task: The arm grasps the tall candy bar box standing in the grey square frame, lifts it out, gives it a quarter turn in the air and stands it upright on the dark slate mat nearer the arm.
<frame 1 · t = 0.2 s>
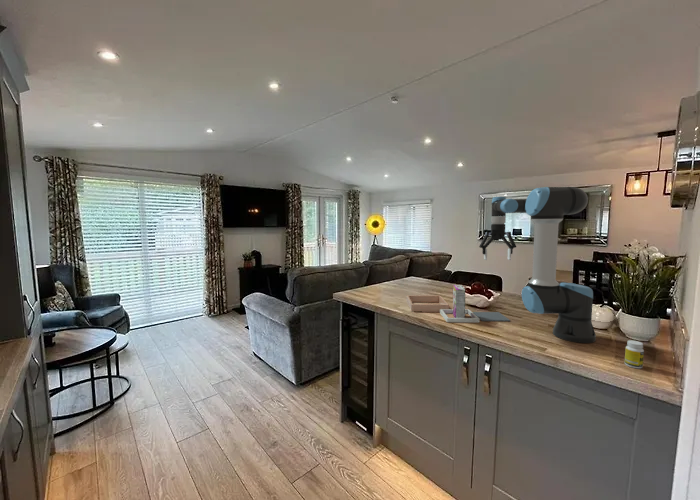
hand: (497, 259, 181), 28 cm above the counter, fingers open, 13 cm apart
supplement bottle: (633, 366, 107), on the counter
pinkish tan tray: (426, 306, 185), on the counter
mat: (490, 317, 163), on the counter
grey square frame: (458, 317, 163), on the counter
candy bar box: (458, 317, 163), resting in grey square frame
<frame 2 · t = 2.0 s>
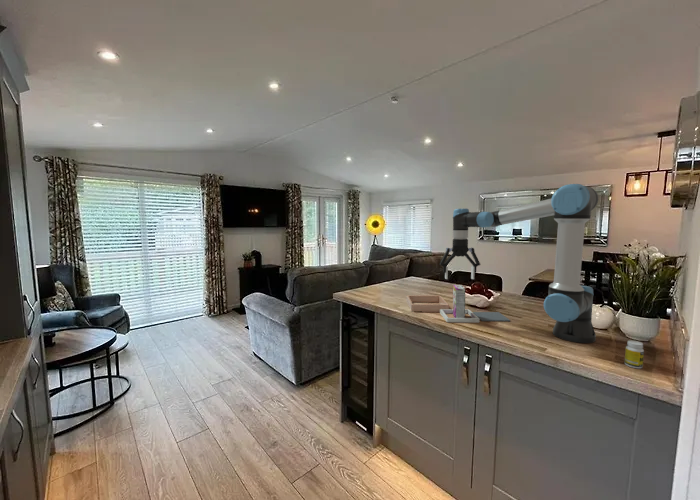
hand: (459, 278, 161), 21 cm above the counter, fingers open, 13 cm apart
nothing on the counter moved.
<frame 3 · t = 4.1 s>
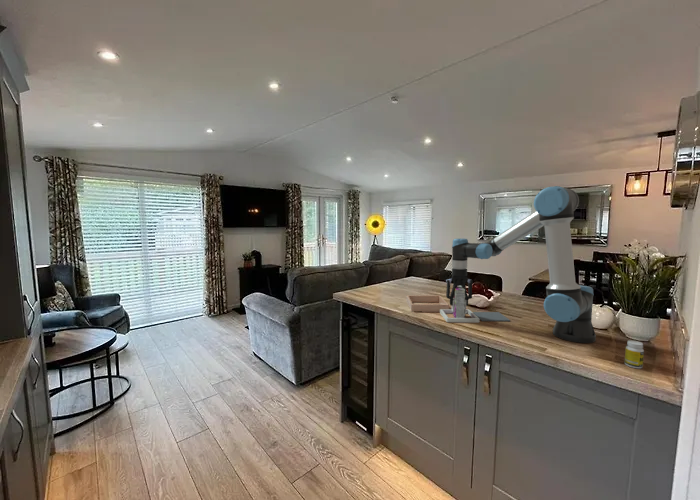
hand: (458, 311, 163), 3 cm above the counter, fingers closed on candy bar box, 5 cm apart
candy bar box: (458, 317, 163), resting in grey square frame, touching gripper
everything else where it was.
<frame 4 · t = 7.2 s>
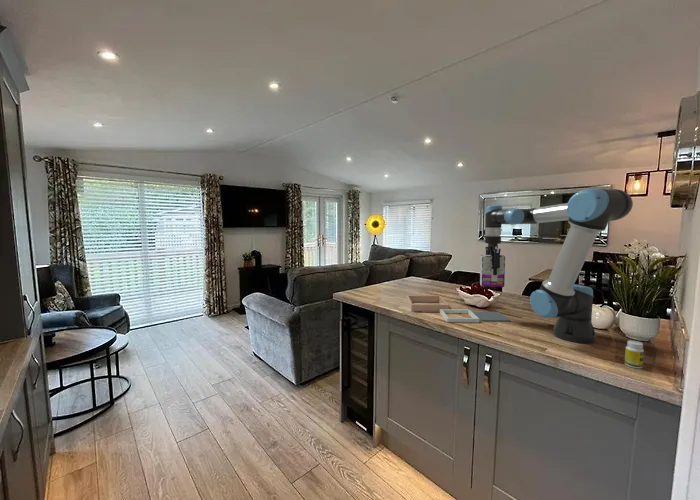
hand: (491, 279, 161), 20 cm above the counter, fingers closed on candy bar box, 5 cm apart
candy bar box: (491, 286, 161), point 16 cm above the counter, touching gripper
everything else where it was.
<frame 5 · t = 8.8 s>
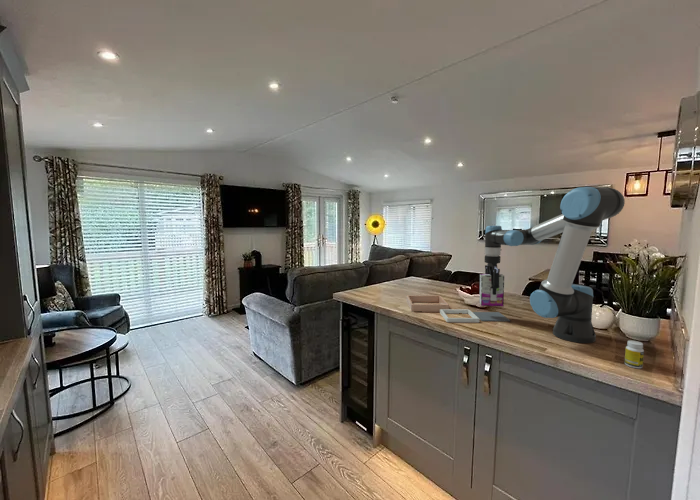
hand: (491, 298, 162), 10 cm above the counter, fingers closed on candy bar box, 5 cm apart
candy bar box: (490, 305, 162), point 6 cm above the counter, touching gripper
everything else where it was.
when the fingers open (5 cm above the counter, at t = 10.1 s): candy bar box stays where it is, resting on mat.
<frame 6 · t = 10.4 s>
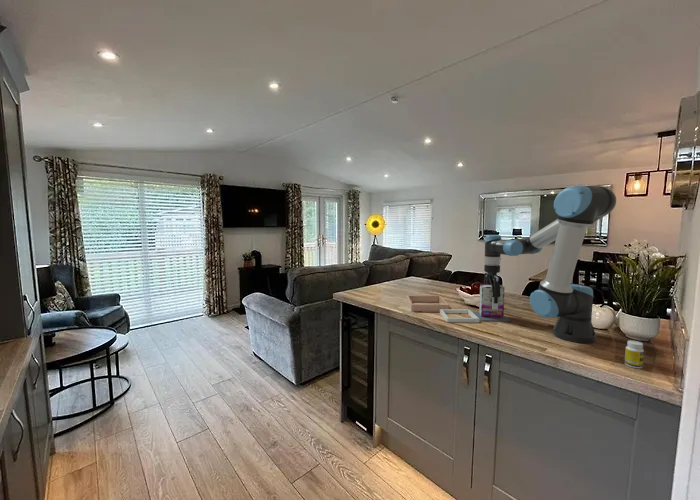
hand: (491, 306, 162), 6 cm above the counter, fingers open, 9 cm apart
candy bar box: (490, 316, 163), point 1 cm above the counter, touching mat
everything else where it was.
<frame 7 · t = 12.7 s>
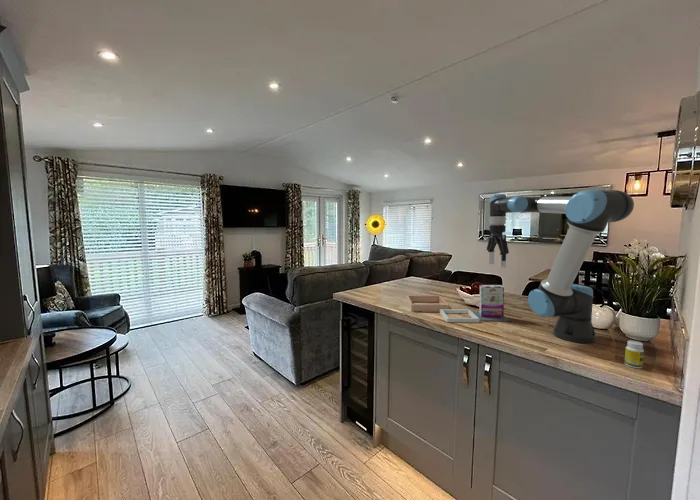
hand: (496, 265, 160), 28 cm above the counter, fingers open, 13 cm apart
nothing on the counter moved.
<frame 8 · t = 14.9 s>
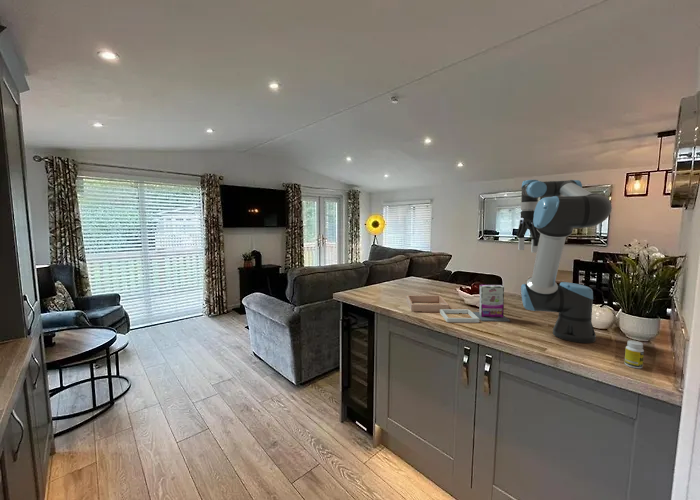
hand: (527, 251, 161), 35 cm above the counter, fingers open, 13 cm apart
nothing on the counter moved.
at the end: candy bar box inside the target area on the mat (0.1 cm from its centre), point 0.4 cm above the mat's base; candy bar box tilted 0°; the gripper is holding nothing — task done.
